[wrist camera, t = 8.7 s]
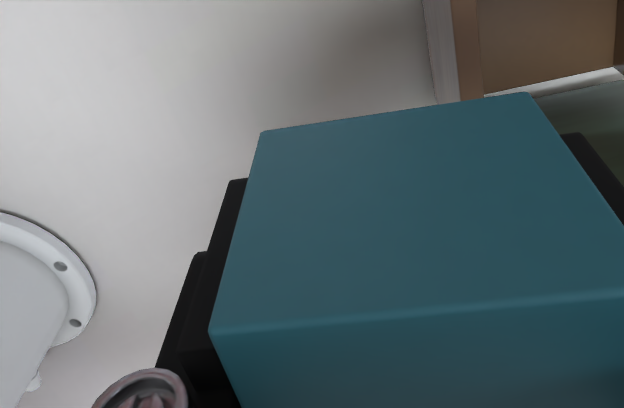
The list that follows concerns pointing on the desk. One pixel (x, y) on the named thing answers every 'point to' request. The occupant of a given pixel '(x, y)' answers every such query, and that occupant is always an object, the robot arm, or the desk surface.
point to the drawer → (534, 59)
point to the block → (423, 266)
